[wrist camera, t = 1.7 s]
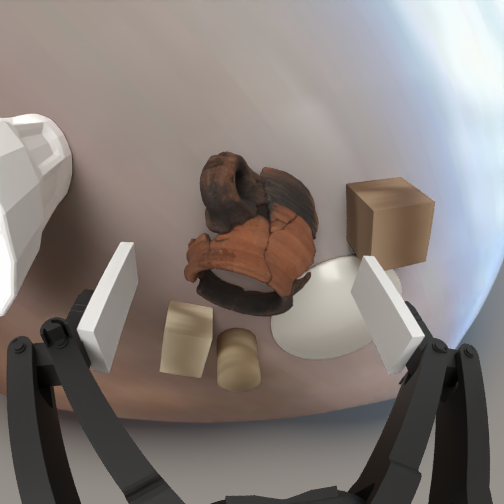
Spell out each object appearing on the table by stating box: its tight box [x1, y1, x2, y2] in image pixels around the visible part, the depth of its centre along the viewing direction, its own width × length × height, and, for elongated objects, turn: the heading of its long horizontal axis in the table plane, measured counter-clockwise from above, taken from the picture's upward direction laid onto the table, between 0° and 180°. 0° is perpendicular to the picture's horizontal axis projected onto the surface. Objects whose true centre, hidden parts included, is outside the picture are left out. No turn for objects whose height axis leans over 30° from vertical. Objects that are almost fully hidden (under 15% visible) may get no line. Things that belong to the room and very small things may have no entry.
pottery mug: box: [184, 152, 318, 316], centre depth 20 cm, size 12×10×8 cm
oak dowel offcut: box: [217, 328, 261, 392], centre depth 28 cm, size 4×4×5 cm
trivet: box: [271, 255, 402, 360], centre depth 29 cm, size 14×14×1 cm
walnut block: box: [346, 177, 435, 271], centre depth 21 cm, size 5×5×5 cm
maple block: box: [160, 300, 213, 378], centre depth 27 cm, size 4×6×4 cm, turn 164°
